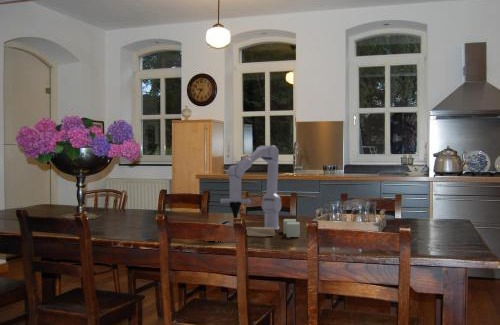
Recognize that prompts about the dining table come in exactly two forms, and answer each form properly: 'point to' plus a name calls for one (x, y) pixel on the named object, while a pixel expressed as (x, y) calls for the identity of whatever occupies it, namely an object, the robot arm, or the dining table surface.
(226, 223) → the hinge
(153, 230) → the dining table surface
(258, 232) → the beige rectangular bar
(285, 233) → the pale green block
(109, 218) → the dining table surface
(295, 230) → the end cap
